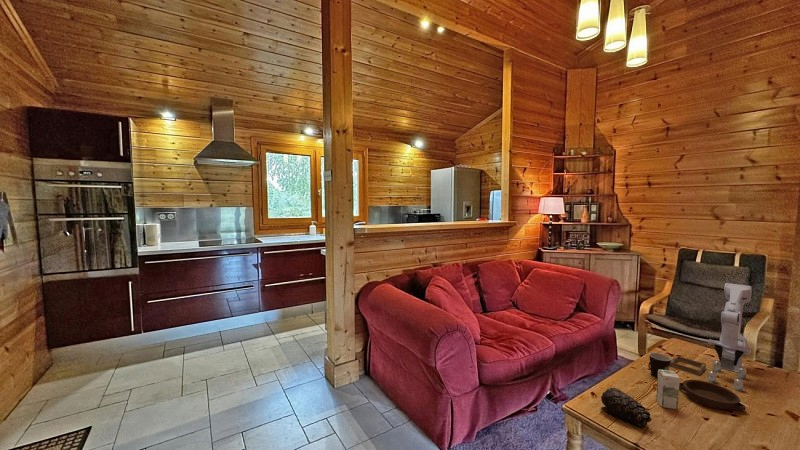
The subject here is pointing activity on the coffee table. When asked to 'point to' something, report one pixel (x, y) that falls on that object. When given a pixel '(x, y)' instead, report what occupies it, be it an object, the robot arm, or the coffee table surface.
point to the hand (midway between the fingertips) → (728, 363)
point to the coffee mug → (658, 363)
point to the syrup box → (667, 389)
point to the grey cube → (727, 362)
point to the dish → (711, 395)
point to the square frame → (685, 368)
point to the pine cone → (625, 408)
